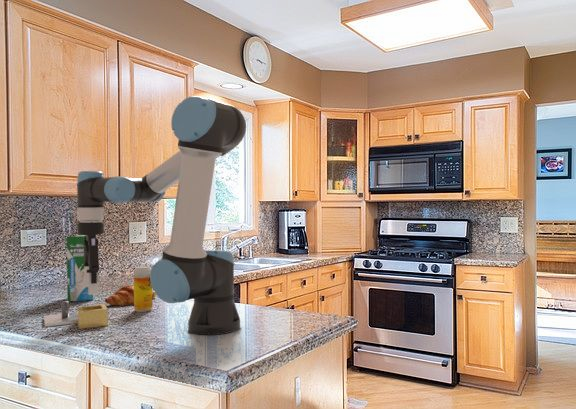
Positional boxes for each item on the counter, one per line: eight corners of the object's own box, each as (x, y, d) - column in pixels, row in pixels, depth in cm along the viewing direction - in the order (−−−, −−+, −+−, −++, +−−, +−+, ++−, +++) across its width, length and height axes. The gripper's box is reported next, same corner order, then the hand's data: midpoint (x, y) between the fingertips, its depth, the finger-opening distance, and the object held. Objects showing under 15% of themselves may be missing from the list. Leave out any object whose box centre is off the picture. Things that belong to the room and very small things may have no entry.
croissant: (151, 305, 190) (146, 287, 193) (165, 296, 185) (159, 277, 187) (101, 314, 174) (96, 294, 176) (115, 304, 168) (109, 283, 171)
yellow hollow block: (107, 325, 146) (107, 308, 146) (79, 328, 142) (79, 312, 142) (104, 319, 153) (104, 304, 153) (77, 323, 149) (76, 307, 149)
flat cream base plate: (87, 321, 150) (87, 302, 150) (44, 326, 145) (44, 307, 145) (84, 314, 161) (83, 296, 161) (44, 318, 155) (43, 300, 155)
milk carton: (94, 296, 193) (93, 234, 193) (93, 300, 185) (92, 235, 185) (70, 297, 191) (69, 235, 191) (67, 302, 182) (66, 236, 182)
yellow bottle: (147, 312, 162) (146, 268, 162) (130, 312, 164) (130, 268, 164) (155, 308, 168) (155, 266, 168) (139, 308, 170) (139, 265, 170)
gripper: (109, 223, 138) (109, 296, 138) (99, 219, 160) (99, 283, 160) (81, 223, 135) (81, 298, 135) (74, 220, 157) (74, 284, 157)
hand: (91, 290), depth 148 cm, fingers open, 13 cm apart
